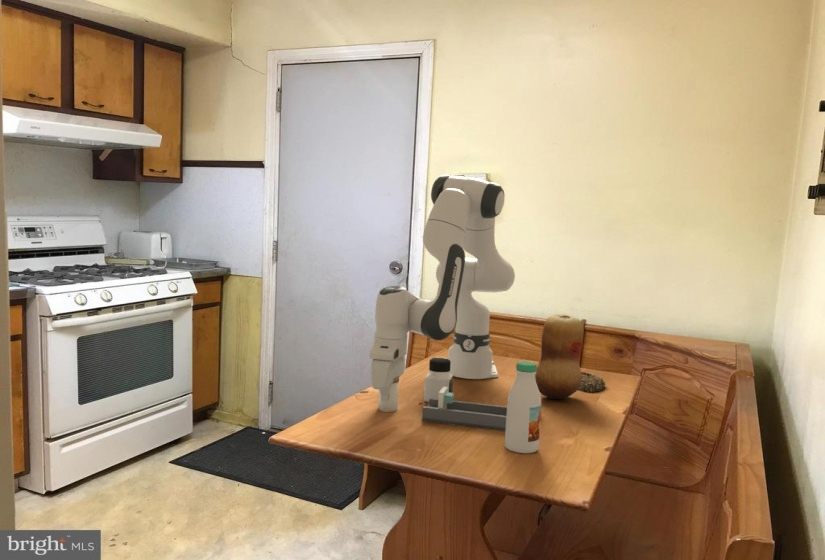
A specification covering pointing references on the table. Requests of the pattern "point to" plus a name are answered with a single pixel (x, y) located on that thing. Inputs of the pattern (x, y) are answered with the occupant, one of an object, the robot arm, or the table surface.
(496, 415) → the lane
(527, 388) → the milk bottle
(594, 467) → the table surface
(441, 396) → the pusher
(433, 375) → the medicine bottle
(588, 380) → the grey speckled flat mound
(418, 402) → the table surface
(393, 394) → the jar
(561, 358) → the butternut squash
